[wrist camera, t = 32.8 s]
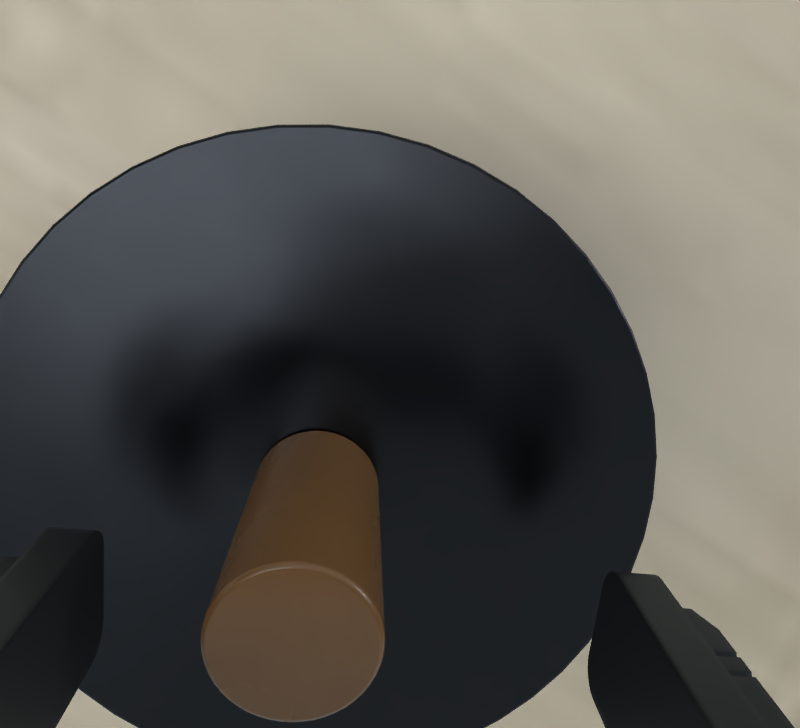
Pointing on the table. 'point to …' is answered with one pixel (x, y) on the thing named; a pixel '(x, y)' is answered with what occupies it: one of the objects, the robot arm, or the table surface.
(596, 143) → the table surface
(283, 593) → the lid
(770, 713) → the robot arm
